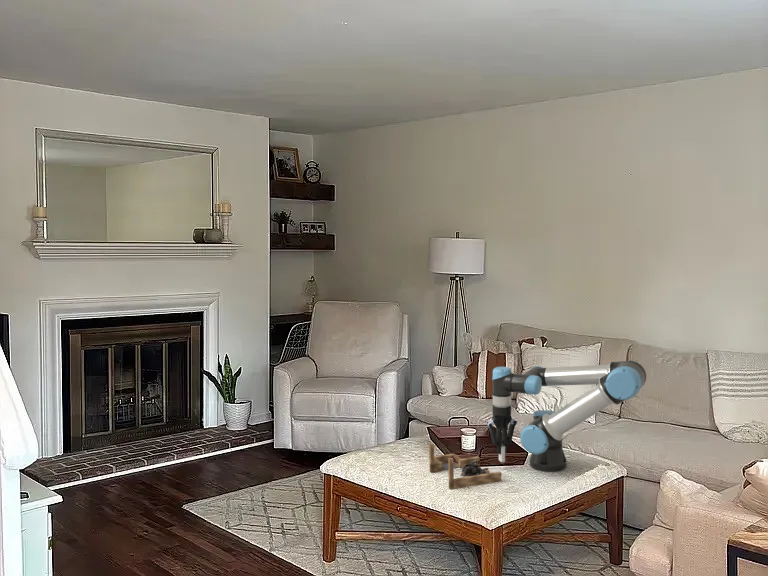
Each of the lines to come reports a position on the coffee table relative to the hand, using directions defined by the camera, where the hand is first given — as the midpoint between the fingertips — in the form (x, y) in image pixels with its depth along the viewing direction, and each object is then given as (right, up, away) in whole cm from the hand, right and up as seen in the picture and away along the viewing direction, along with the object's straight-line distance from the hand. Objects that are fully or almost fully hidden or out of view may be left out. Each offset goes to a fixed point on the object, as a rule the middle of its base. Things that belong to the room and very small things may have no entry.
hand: (501, 461), depth 317 cm
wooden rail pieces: (-17, -5, -2) cm, 18 cm away
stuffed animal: (-11, -5, -3) cm, 13 cm away
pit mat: (-22, -4, +7) cm, 23 cm away
